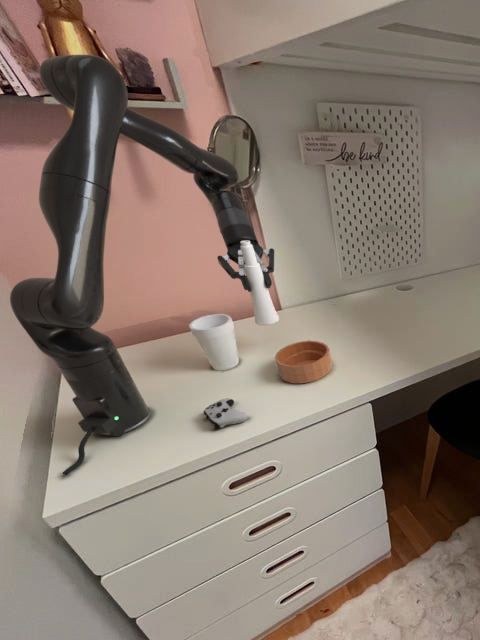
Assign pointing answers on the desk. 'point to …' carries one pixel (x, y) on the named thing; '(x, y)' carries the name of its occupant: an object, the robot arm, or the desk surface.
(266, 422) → the desk surface
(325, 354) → the bowl
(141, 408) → the robot arm
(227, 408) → the game controller
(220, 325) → the foam cup
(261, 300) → the cosmetic bottle
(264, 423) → the desk surface
